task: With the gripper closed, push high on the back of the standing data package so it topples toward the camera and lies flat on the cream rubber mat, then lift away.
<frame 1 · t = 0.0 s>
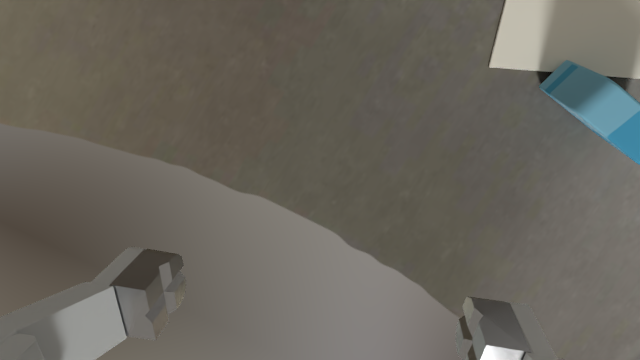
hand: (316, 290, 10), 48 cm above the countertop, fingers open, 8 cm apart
mat: (606, 18, 46), on the countertop
data package: (578, 95, 50), on the countertop, touching mat
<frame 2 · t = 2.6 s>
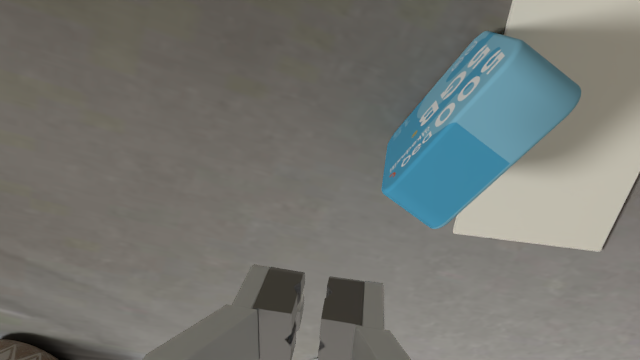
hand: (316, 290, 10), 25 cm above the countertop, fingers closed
mat: (569, 114, 31), on the countertop
data package: (450, 104, 32), on the countertop, touching mat
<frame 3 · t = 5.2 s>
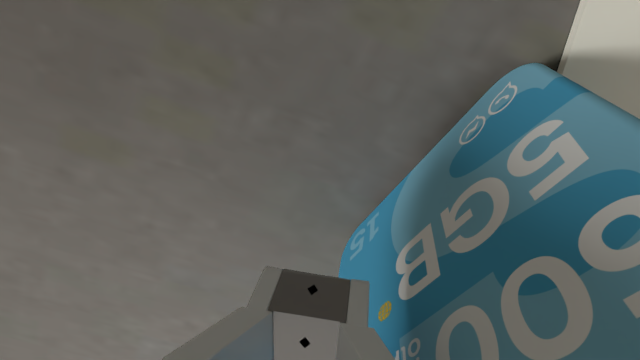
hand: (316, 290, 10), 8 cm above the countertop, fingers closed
data package: (452, 187, 17), on the countertop, touching gripper, mat
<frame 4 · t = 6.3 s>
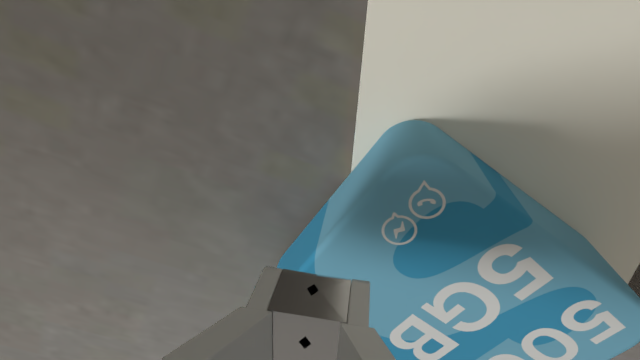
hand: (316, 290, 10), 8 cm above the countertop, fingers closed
mat: (497, 192, 17), on the countertop
data package: (317, 220, 16), point 3 cm above the countertop, touching mat
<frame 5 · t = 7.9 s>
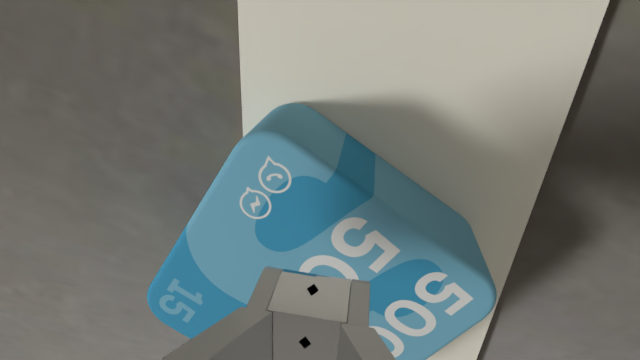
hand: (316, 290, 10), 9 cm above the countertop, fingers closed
mat: (383, 174, 18), on the countertop
data package: (203, 199, 17), point 3 cm above the countertop, touching mat
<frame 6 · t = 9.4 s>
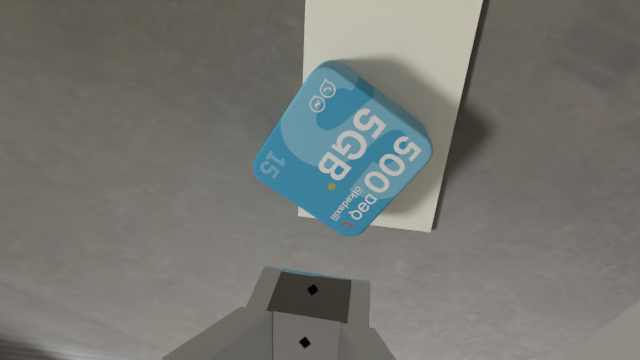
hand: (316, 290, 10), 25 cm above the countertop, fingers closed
mat: (378, 101, 33), on the countertop
data package: (283, 111, 31), point 3 cm above the countertop, touching mat
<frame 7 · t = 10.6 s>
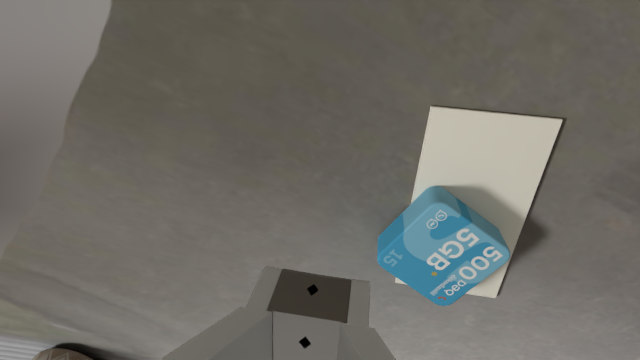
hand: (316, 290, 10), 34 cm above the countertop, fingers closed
mat: (466, 211, 46), on the countertop
data package: (401, 220, 45), point 3 cm above the countertop, touching mat
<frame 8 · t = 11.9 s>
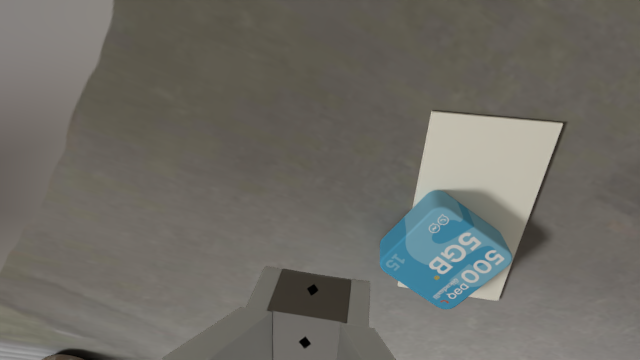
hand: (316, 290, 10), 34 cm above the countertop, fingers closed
mat: (467, 214, 46), on the countertop
data package: (403, 224, 45), point 3 cm above the countertop, touching mat
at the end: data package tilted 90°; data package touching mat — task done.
